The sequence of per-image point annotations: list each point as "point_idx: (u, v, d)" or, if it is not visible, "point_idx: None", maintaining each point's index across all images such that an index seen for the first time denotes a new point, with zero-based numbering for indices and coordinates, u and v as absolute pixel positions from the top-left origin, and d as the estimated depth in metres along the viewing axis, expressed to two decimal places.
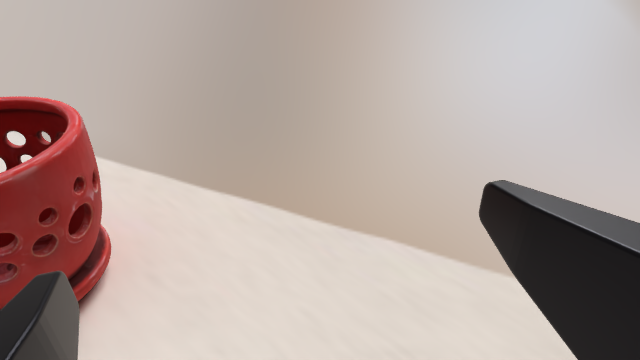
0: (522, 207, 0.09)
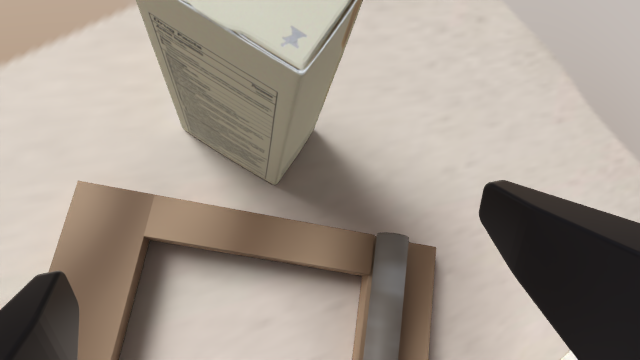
0: (522, 207, 0.09)
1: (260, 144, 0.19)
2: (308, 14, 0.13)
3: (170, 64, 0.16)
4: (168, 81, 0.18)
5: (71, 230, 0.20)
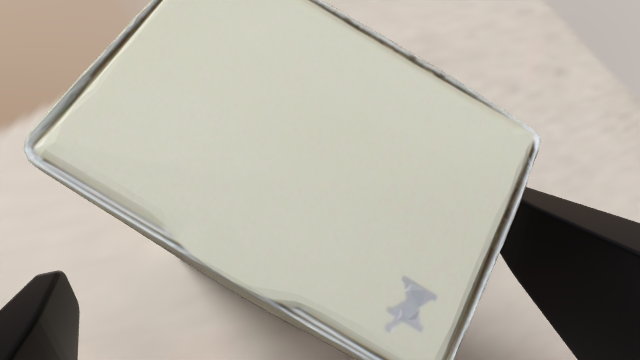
0: (522, 207, 0.09)
1: None
2: (434, 242, 0.06)
3: None
4: None
5: None
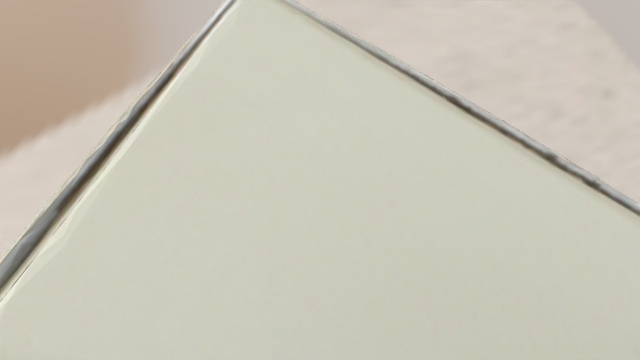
0: None
1: None
2: None
3: None
4: None
5: None
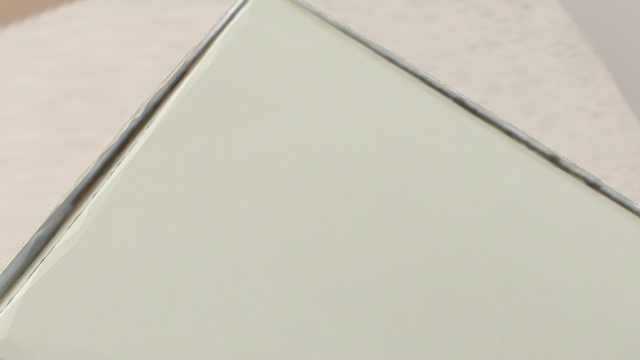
0: None
1: None
2: None
3: None
4: None
5: None
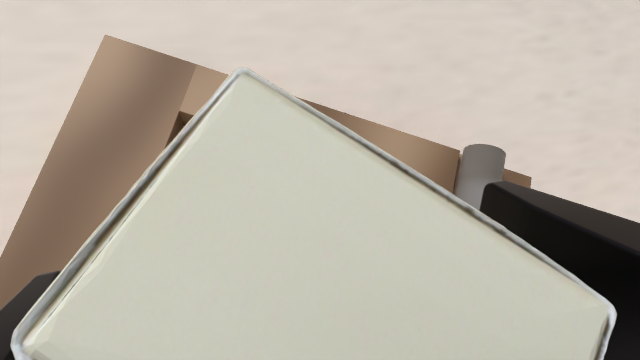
0: (522, 207, 0.09)
1: None
2: None
3: None
4: None
5: (90, 91, 0.16)
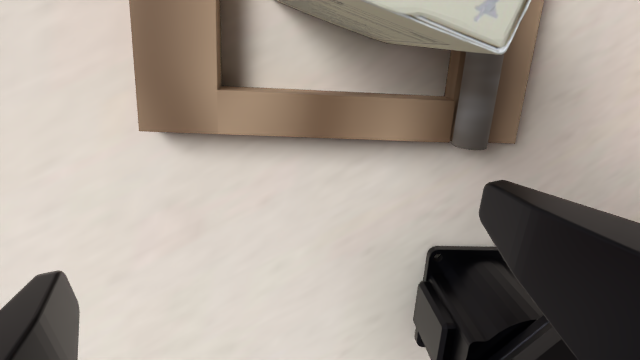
0: (522, 207, 0.09)
1: (389, 37, 0.16)
2: None
3: None
4: None
5: None
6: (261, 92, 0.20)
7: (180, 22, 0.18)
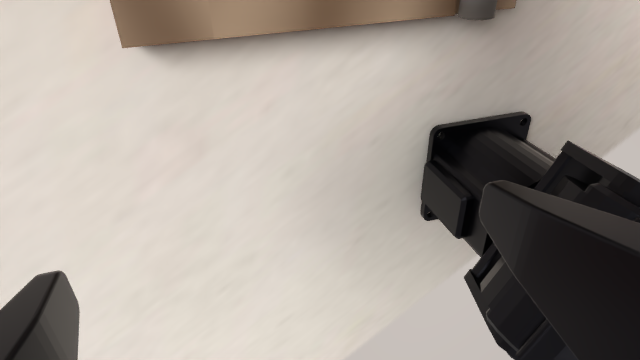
0: (522, 207, 0.09)
1: None
2: None
3: None
4: None
5: None
6: None
7: None
